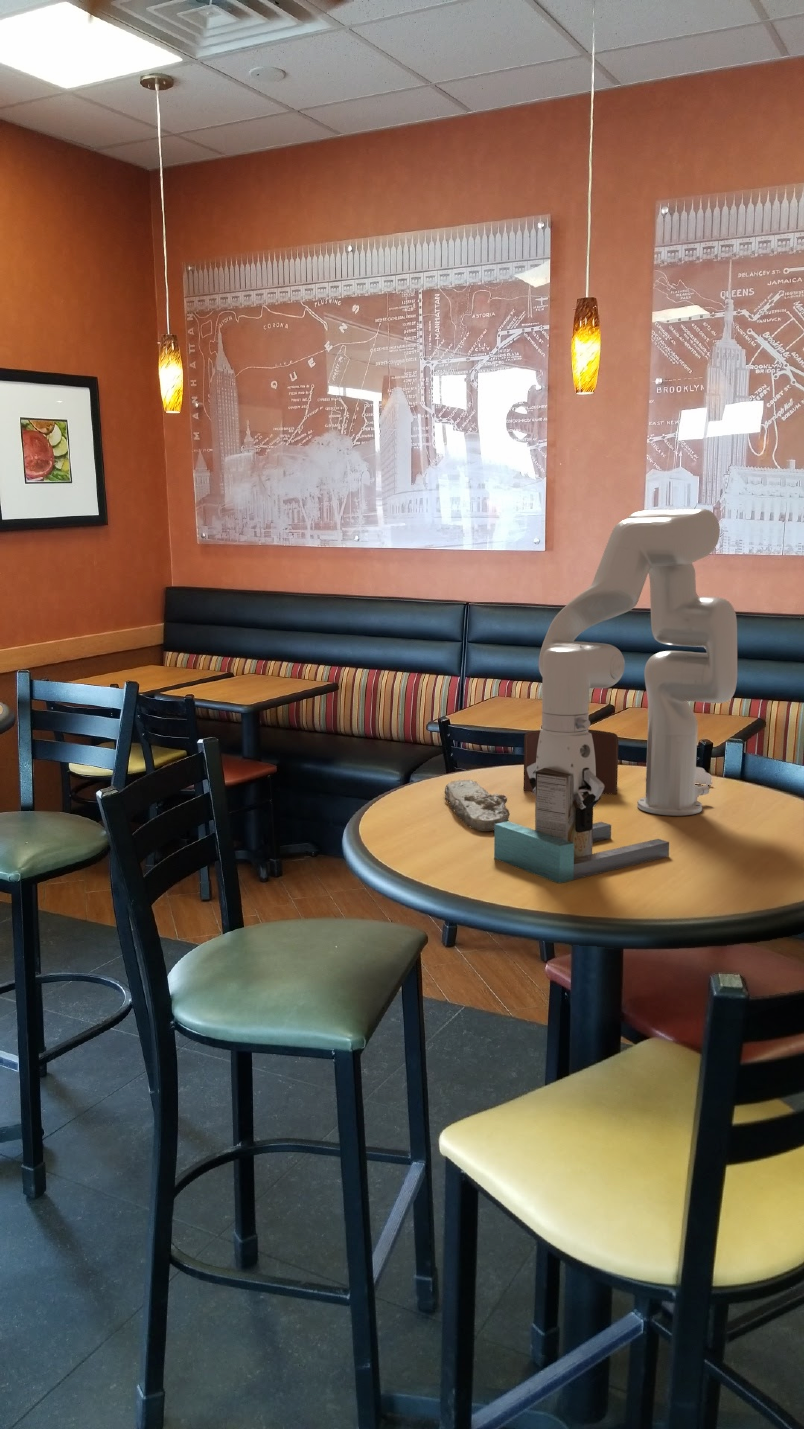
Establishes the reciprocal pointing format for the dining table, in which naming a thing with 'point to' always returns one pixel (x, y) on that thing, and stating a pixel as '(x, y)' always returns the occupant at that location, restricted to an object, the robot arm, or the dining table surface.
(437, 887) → the dining table surface
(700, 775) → the car cutout
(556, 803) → the coffee box
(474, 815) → the elongated rock
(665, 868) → the dining table surface
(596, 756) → the letter holder
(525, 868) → the keeper channel
